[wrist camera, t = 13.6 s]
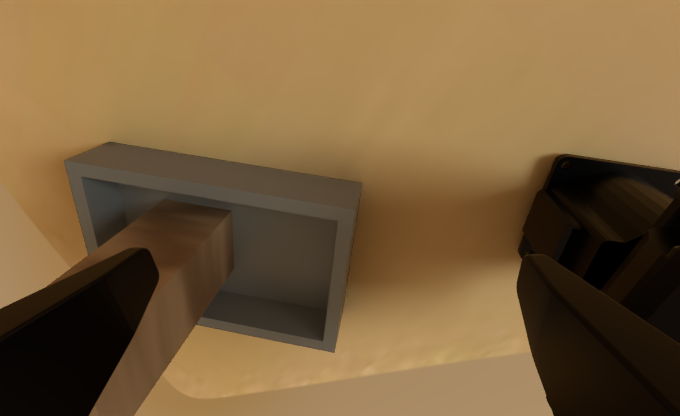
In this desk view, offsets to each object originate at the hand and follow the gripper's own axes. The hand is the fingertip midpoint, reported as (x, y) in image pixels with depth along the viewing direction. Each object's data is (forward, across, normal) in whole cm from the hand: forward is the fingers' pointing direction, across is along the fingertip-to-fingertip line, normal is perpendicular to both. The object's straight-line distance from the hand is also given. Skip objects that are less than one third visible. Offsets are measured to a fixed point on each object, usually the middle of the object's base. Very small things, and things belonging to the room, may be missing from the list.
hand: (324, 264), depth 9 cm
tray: (+12, +9, +8) cm, 17 cm away
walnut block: (+12, +11, +7) cm, 18 cm away
